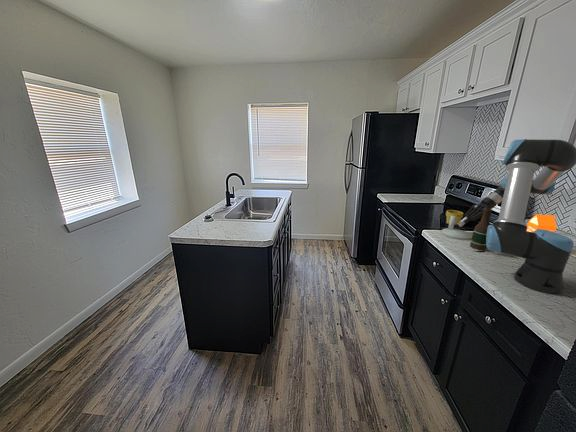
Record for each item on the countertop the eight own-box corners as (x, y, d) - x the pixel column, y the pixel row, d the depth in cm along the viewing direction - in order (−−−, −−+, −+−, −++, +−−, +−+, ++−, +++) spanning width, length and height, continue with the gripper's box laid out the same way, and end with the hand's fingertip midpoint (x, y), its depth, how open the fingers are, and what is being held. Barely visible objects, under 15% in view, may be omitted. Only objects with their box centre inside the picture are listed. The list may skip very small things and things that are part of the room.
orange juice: (548, 251, 138) (560, 217, 132) (530, 249, 140) (541, 216, 134) (537, 245, 145) (549, 213, 139) (520, 244, 147) (530, 212, 141)
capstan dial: (477, 240, 149) (482, 223, 145) (451, 239, 149) (454, 223, 146) (460, 230, 164) (464, 215, 161) (436, 230, 164) (439, 215, 161)
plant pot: (463, 227, 175) (467, 214, 172) (449, 226, 175) (452, 213, 172) (454, 222, 184) (457, 210, 181) (440, 222, 185) (443, 209, 182)
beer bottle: (470, 250, 137) (480, 209, 130) (468, 245, 144) (478, 206, 137) (487, 253, 134) (499, 211, 127) (484, 248, 140) (495, 208, 133)
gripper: (502, 207, 149) (468, 232, 155) (487, 202, 162) (455, 225, 167) (496, 199, 148) (462, 224, 153) (480, 194, 160) (449, 218, 166)
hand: (458, 225), depth 160 cm, fingers closed
